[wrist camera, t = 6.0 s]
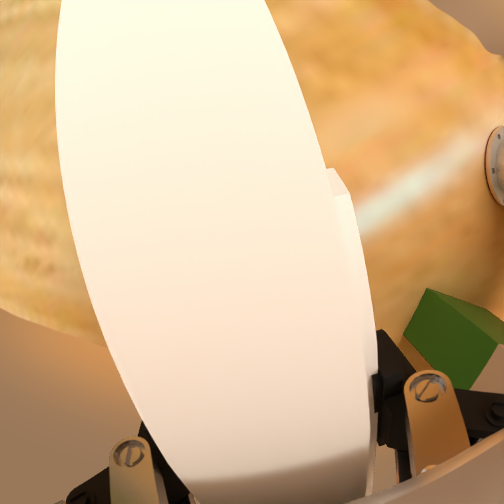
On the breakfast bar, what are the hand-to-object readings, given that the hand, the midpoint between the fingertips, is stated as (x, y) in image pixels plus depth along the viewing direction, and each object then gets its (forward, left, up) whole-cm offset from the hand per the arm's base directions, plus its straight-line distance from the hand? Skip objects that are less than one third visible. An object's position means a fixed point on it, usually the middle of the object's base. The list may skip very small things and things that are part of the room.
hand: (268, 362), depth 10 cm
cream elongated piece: (0, +1, -4) cm, 4 cm away
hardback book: (-28, +22, -22) cm, 41 cm away
